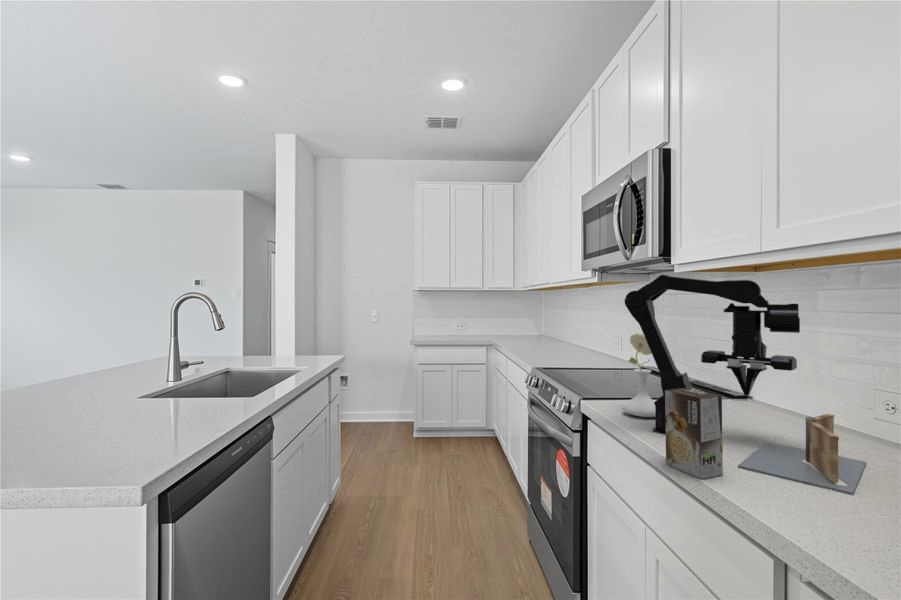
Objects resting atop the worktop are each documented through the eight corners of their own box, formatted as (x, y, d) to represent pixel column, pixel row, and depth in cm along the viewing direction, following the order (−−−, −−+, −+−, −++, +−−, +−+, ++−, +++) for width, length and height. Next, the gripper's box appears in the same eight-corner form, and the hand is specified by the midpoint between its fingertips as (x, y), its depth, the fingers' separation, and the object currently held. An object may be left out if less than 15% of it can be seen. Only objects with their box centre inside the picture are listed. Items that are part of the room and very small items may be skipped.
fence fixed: (804, 463, 95) (804, 417, 95) (826, 456, 100) (826, 411, 100) (813, 466, 94) (813, 418, 94) (835, 458, 98) (835, 413, 98)
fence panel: (809, 462, 94) (809, 421, 94) (816, 462, 93) (816, 422, 93) (831, 481, 84) (830, 436, 84) (838, 482, 83) (838, 436, 83)
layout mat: (737, 467, 93) (737, 465, 93) (765, 443, 108) (765, 441, 108) (853, 495, 80) (853, 492, 80) (866, 463, 95) (866, 461, 95)
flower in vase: (671, 419, 130) (670, 335, 130) (633, 420, 129) (633, 335, 129) (648, 409, 143) (648, 331, 143) (614, 409, 142) (613, 332, 142)
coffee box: (724, 475, 89) (724, 395, 89) (701, 480, 87) (701, 398, 87) (685, 460, 97) (685, 387, 97) (663, 463, 95) (663, 389, 95)
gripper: (801, 331, 107) (801, 396, 107) (715, 328, 120) (715, 385, 120) (791, 333, 99) (791, 403, 99) (700, 330, 113) (700, 391, 113)
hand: (746, 395), depth 108 cm, fingers closed
